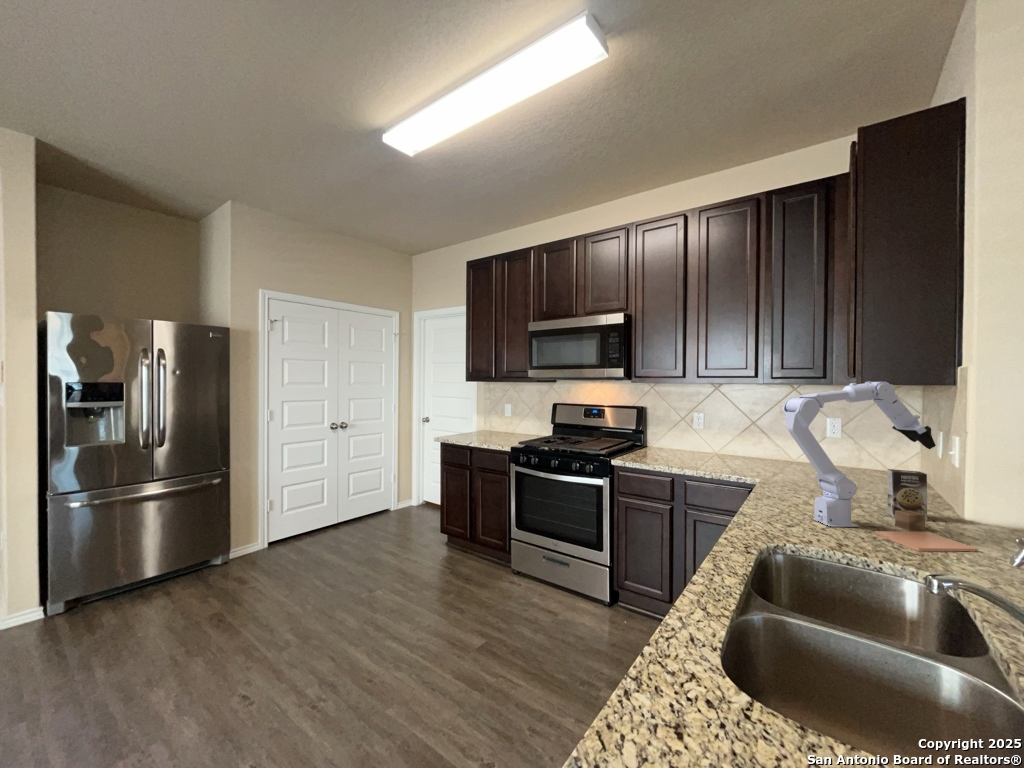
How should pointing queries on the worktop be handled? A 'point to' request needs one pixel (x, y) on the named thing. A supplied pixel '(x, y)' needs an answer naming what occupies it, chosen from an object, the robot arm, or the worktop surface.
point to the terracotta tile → (925, 541)
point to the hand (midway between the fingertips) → (924, 443)
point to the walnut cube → (910, 520)
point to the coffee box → (907, 492)
